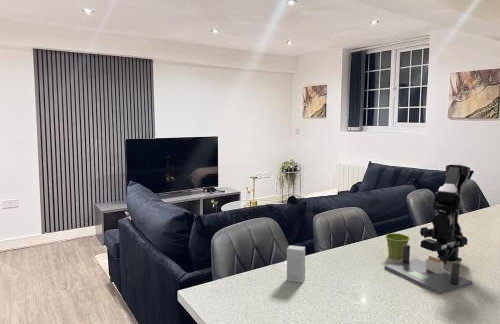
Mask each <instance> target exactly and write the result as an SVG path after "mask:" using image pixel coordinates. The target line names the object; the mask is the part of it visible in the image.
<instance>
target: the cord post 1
mask: <svg viewBox="0 0 500 324" xmlns="http://www.w3.org/2000/svg"><path fill="white" fill-rule="evenodd" d="M410 254H411V245H410V244H407V245H406V244H405V245H403V258H402V261H403V263H404V264H409V260H410V257H411V256H410Z"/></svg>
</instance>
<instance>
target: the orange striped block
mask: <svg viewBox="0 0 500 324" xmlns="http://www.w3.org/2000/svg"><path fill="white" fill-rule="evenodd" d="M425 259H426V260H425V262H426V269H427V270H429V271H432V272H434V273H436V274H439V273H443V269H444V265H443V264H444V262H443V261H442V260H440V259H439V258H438V257H434V256H432V255H428V257H427V258H425Z"/></svg>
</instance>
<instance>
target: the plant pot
mask: <svg viewBox="0 0 500 324" xmlns="http://www.w3.org/2000/svg"><path fill="white" fill-rule="evenodd" d="M385 238H386V241H387V250H388V257H389V258H392V259H394V260H403V245H405V244H406V245H408V243H409V241H410V237H409V235H406V234H403V233H394V232H393V233H387V234H385Z"/></svg>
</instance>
